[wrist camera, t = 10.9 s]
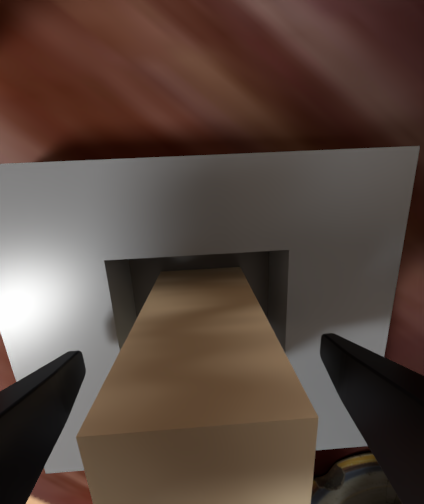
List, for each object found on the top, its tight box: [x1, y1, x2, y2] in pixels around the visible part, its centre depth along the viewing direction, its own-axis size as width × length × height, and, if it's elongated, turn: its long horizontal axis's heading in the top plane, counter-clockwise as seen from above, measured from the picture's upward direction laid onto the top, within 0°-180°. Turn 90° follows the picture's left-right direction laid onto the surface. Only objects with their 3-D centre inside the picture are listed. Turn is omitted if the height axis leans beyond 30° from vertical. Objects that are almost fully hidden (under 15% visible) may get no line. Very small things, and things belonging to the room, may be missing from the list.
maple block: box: [76, 267, 319, 504], centre depth 8 cm, size 4×4×8 cm
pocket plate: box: [0, 146, 420, 474], centre depth 11 cm, size 16×14×3 cm
